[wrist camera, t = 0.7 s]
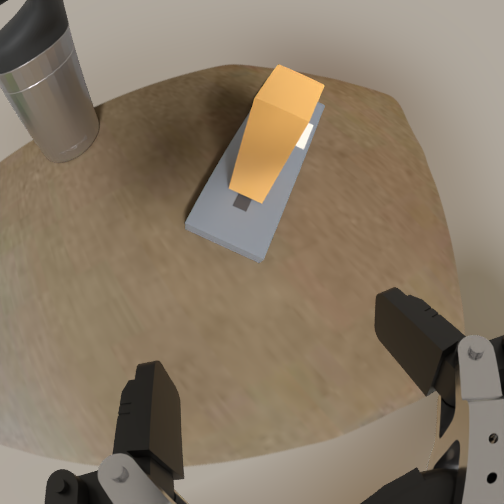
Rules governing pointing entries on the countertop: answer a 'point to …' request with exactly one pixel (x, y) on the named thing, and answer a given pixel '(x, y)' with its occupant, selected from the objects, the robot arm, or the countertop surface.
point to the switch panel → (246, 200)
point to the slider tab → (273, 130)
